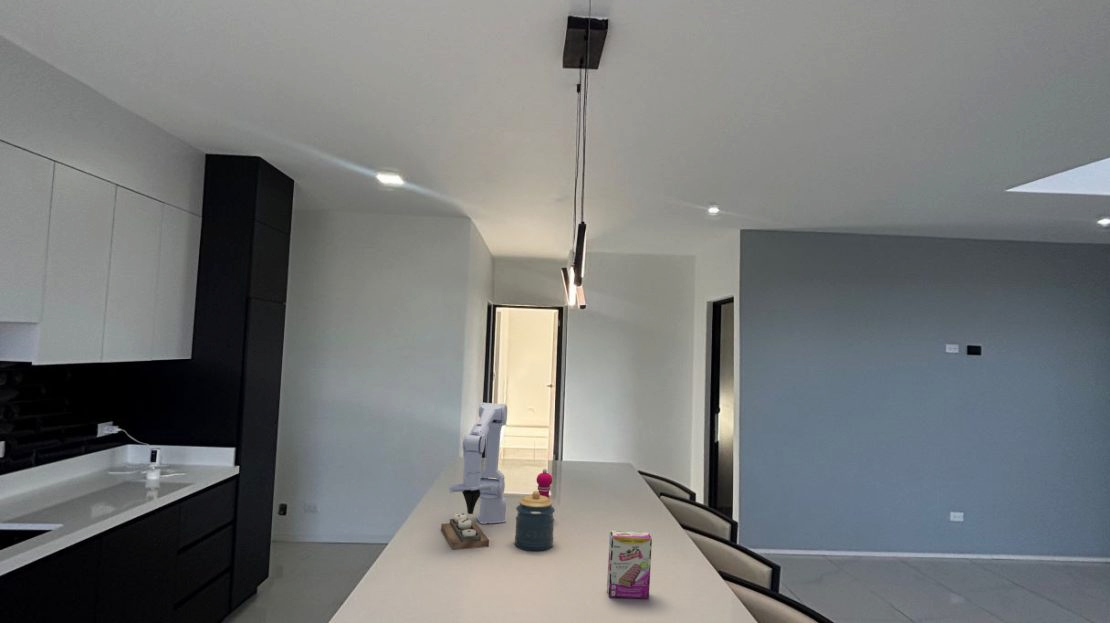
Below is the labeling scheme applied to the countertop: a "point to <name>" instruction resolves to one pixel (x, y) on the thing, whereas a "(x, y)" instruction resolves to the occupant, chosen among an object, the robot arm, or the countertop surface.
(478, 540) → the button panel
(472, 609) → the countertop surface
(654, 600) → the countertop surface
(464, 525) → the button three
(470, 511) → the robot arm
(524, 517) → the canister
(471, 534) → the button one
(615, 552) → the candy bar box
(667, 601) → the countertop surface
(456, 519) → the button two
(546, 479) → the pepper mill
